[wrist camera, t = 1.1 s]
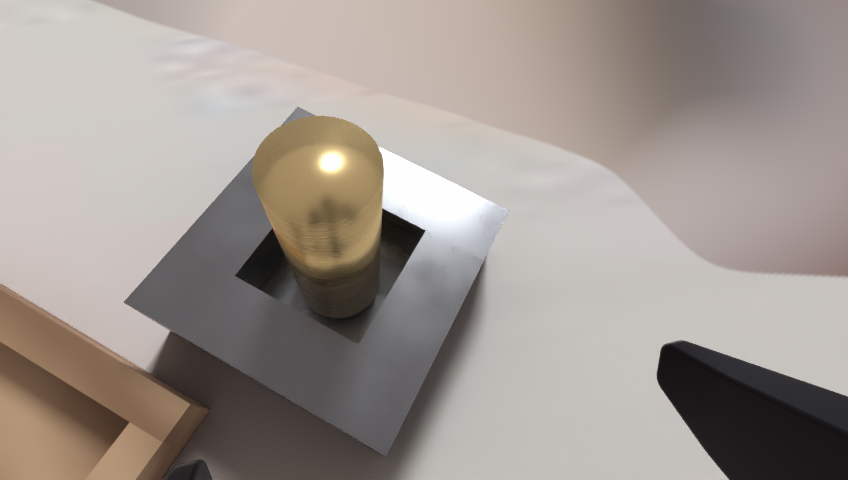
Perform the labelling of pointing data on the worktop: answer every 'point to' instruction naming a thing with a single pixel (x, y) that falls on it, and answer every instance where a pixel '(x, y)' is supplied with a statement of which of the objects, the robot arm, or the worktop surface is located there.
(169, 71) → the worktop surface
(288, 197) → the tan rounded piece
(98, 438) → the walnut tray
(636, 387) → the worktop surface
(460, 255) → the chuck socket
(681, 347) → the robot arm
